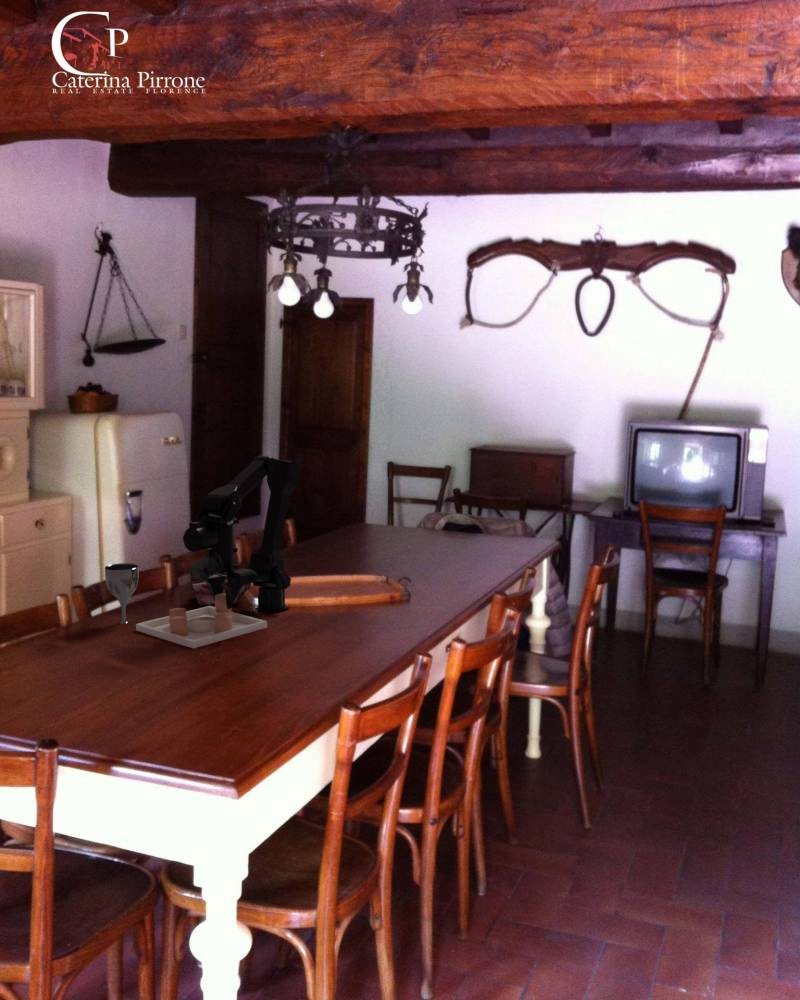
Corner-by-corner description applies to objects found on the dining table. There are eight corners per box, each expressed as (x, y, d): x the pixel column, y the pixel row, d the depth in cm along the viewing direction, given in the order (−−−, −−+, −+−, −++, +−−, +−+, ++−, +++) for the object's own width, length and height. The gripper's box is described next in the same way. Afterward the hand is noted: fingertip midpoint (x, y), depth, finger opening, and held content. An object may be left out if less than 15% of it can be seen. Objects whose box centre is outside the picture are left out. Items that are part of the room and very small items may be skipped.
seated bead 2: (180, 631, 239) (180, 615, 238) (191, 634, 236) (190, 618, 235) (166, 635, 236) (166, 618, 235) (177, 638, 233) (176, 621, 232)
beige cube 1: (235, 631, 238) (235, 615, 238) (224, 636, 235) (223, 619, 234) (222, 629, 240) (222, 613, 240) (211, 633, 237) (210, 617, 236)
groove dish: (209, 615, 256) (209, 603, 256) (267, 631, 242) (267, 619, 242) (136, 634, 240) (135, 622, 240) (193, 652, 226) (192, 639, 225)
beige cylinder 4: (179, 622, 246) (179, 606, 245) (189, 625, 243) (189, 609, 243) (166, 626, 243) (165, 610, 242) (176, 629, 240) (175, 613, 240)
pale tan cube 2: (224, 608, 248) (224, 592, 248) (235, 611, 246) (234, 595, 245) (212, 611, 245) (211, 595, 245) (222, 614, 243) (222, 598, 242)
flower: (183, 589, 271) (189, 557, 267) (235, 590, 278) (242, 559, 274) (196, 618, 259) (203, 584, 255) (250, 618, 266) (258, 585, 262)
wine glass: (107, 632, 242) (104, 571, 240) (107, 623, 249) (104, 564, 247) (141, 629, 244) (138, 569, 242) (140, 620, 252) (138, 562, 249)
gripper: (171, 544, 243) (173, 607, 245) (220, 555, 231) (222, 620, 233) (207, 537, 251) (210, 598, 254) (257, 547, 239) (258, 611, 242)
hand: (223, 607), depth 245 cm, fingers closed on pale tan cube 2, 4 cm apart
